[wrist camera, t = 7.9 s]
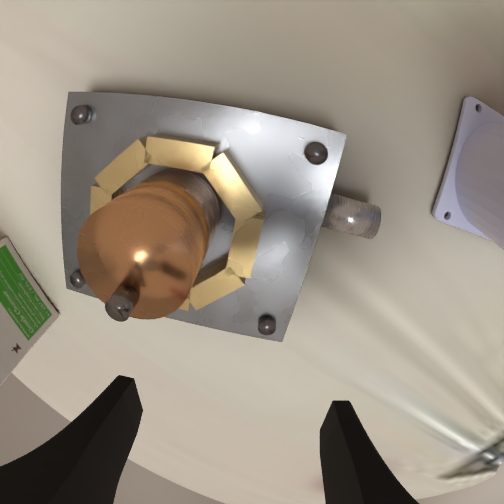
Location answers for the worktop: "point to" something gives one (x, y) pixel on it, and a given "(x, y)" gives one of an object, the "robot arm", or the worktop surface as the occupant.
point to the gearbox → (225, 189)
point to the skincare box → (19, 310)
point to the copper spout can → (149, 244)
